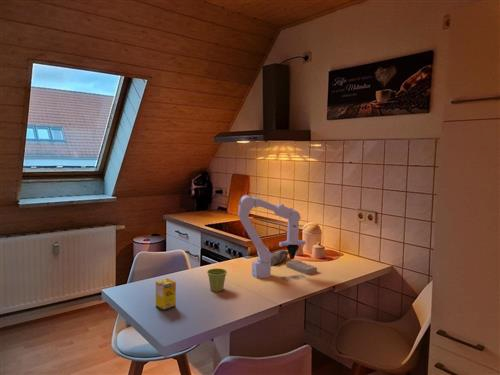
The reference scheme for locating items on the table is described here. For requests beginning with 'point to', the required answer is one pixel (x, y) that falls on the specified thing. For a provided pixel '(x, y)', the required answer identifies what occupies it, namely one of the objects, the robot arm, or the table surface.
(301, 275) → the laid board
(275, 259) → the decorative bottle
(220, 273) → the plant pot
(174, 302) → the supplement box
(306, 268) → the brick
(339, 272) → the table surface
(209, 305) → the table surface
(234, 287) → the table surface
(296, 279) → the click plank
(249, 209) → the robot arm
